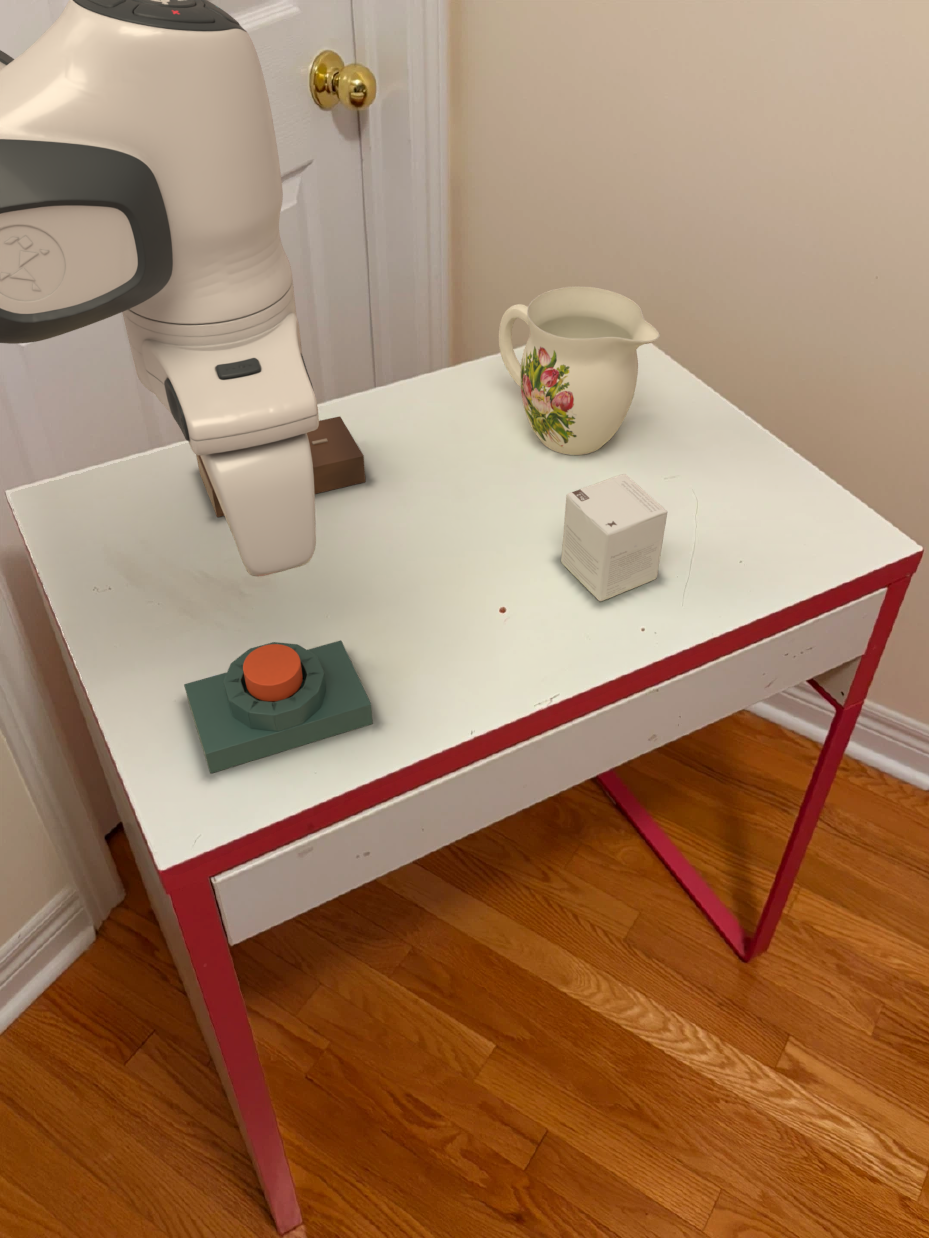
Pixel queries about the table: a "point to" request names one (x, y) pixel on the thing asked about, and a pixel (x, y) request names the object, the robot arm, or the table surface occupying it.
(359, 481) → the dial panel
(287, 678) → the release button
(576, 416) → the pitcher
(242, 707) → the button block
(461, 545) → the table surface
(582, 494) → the product carton
